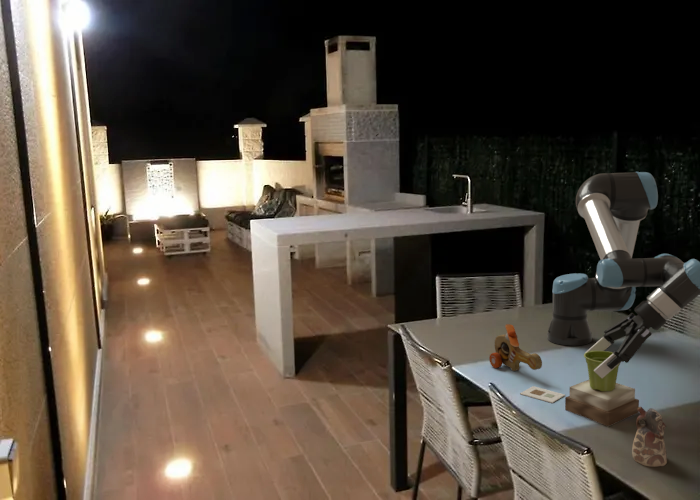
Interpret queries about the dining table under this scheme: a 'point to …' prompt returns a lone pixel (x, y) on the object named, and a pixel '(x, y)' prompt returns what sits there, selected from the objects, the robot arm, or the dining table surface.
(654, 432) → the figurine
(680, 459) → the dining table surface
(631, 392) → the stacked square slabs
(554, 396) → the page
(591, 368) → the plant pot
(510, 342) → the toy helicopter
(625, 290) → the robot arm
